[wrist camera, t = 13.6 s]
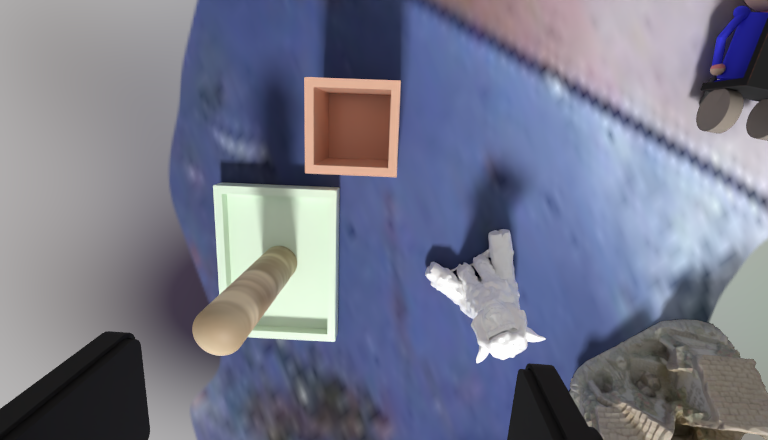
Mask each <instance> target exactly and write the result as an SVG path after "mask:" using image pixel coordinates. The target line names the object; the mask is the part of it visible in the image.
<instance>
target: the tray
mask: <svg viewBox="0 0 768 440" xmlns="http://www.w3.org/2000/svg"><path fill="white" fill-rule="evenodd" d="M339 191H340V187H317V186H294V185H270V184H247V183H223V182H221V183H218V184H216V185H213V193H214V210H215V228H216V245H217V263H218V280H219V295H220V294H221V293H222V292H223V291H224V290H225V289H226V288H227V287H228V286H229V285H230V284H232V283H233V282H234V281H235V280H236V279H237V278H238V277H239V276H240V275H241V274H242V273H243V272H244V271H246V270H247V269H248V268H249V267H250V266H251V265H252V264H253V263H254V262H255V261H256V260H257V259H258V258H260V257H261V256H262V255H263V254H264V253H265V252H266V251H267V250H268V249H270V248H271V247H274V246H284V247H287V248H289V249H290V250H291V251H292V252H293V253H294V254H295V256H296V258H297V268H296V271H295V272H294V274H293V275H292V276H291V278H290V279H289V280H288V282H287V283H286V285H285V286H284V287H283V289H282V290H281V291H280V293H279V294H278V296H277V297H276V298H275V300H274V301H273V302H272V304H271V305H270V307H269V308H268V309H267V311H266V312H265V313H264V315H263V316H262V318H261V319H260V320H259V322H258V323H257V324H256V326H255V327H254V329H253V330H252V331H251V333H250V334H249V335H248V337H254V338H273V339H292V340H311V341H330V342H335V340H336V336H337V333H338V269H339Z"/></svg>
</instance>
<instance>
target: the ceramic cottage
mask: <svg viewBox="0 0 768 440" xmlns="http://www.w3.org/2000/svg"><path fill="white" fill-rule="evenodd" d="M755 365H756V362H755V361H754V359H743V358H740V354H739V352H738V351H737V350H735V349H734V346H733V345H732V343H731V342H730V341H729V340H728V338H727V337H726V336H725V335H724V334H723V333H722V332H721V331H720V329H718V328H717V327H715V326H714V325H713V324H711V323H706V322H703V321H699V320H686V319H683V320H682V319H681V320H679V319H677V320H673V321H671V320H669V321H661V322H659V323H657V324H655V325H653V326H651V327H649V328H647V329H646V330H644V331H641V333H638V334H637V335H634V336H633V337H631V338H629V339H627V340H626V341H625V342H621V343H620V344H619V345H617V346H616V347H612V348H611V349H609V350H607V351H605V352H603V353H601V354H600V355H597V356H596V357H594V358H592V359H590V360H588V361H586V362H585V363H584V364H583V365H581V366H580V367H579V368H578V369H577V371H576V372H575V374H574V376H573V377H574V378H572V379H571V381H572V382H571V383H570V384H571V386H570V388H571V390H570V392H569V393H570V395H571V397H572V399H573V400H574V402H575V404H576V405H577V407H578V409H579V411H580V412H581V414H582V416H583V418H584V419H585V421H586V423H587V425H588V426H589V427H593V428H595V429H596V430H597V431H598V432H599V433H600V435H601V436H602V438H603V440H741V439H742V437H743V435H744V434H746V433H752V434H758V435H760V436H762V437H763V438H764V439H766V440H768V393H767V391H766V389H765V385H764V384H763V382H762V380H761V376H760V374H759V372H758V371H757V370H756V368H755Z"/></svg>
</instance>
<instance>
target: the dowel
mask: <svg viewBox="0 0 768 440" xmlns="http://www.w3.org/2000/svg"><path fill="white" fill-rule="evenodd" d="M296 268H297V258H296V256H295V254H294V253H293V252H292V251H291V250H290V249H289V248H287V247H284V246H274V247H271V248H270V249H268V250H267V251H266V252H265V253H264V254H263V255H262V256H261V257H260V258H258V259H257V260H256V261H255V262H254V263H253V264H252V265H251V266H250V267H249V268H248V269H247V270H246V271H244V272H243V273H242V274H241V275H240V276H239V277H238V278H237V279H236V280H235V281H234V282H233V283H232V284H230V285H229V286H228V287H227V288H226V289H225V290H224V291H223V292H222V293H221V294H220V295H219V296H218V297H216V298H215V299H214V300H213V301H212V302H211V303H210V304H209V305H208V306H207V307H206V308H205V309H204V310H202V311H201V312H200V313H199V314H198V315H197V317H196V318H195V320H194V323H193V328H192V330H193V336H194V338H195V341H196V342H197V344H198V345H199V346H200V347H201V348H202V349H203V350H205V351H206V352H208V353H211V354H213V355H218V356H224V355H229V354H232V353H234V352H235V351H237V350H238V349H239V348H240V346H241V345H242V344H243V342H244V341H245V340H246V338H247V337H248V335H249V334H250V333H251V331H252V330H253V329H254V327H255V326H256V324H257V323H258V322H259V320H260V319H261V318H262V316H263V315H264V313H265V312H266V311H267V309H268V308H269V307H270V305H271V304H272V302H273V301H274V300H275V298H276V297H277V296H278V294H279V293H280V291H281V290H282V289H283V287H284V286H285V285H286V283H287V282H288V280H289V279H290V278H291V276H292V275H293V274H294V272H295V271H296Z"/></svg>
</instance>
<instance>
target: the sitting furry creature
mask: <svg viewBox="0 0 768 440" xmlns="http://www.w3.org/2000/svg"><path fill="white" fill-rule="evenodd" d="M488 240H489V249H488V250H486V251H485V252H483V253H482V254H479V255H478V256H477V257H474V258H473V263H472V264H470V265H469V264H467V263H465V262H464V263H463V265H461V264H459V265H458V266H457V267H456V268H454V269H452V270H449V269H448V268H443V267H442V266H441V265H439V264H437V263H436V262H431V263H430V266H428V267H427V269H426V271H425V275H426V277H427V278H428V279H429V280H430V281H431V286H433V287H434V288H436V289H437V290H439V291H441V292H442V293H443V294H445V295H446V296H447V297H448V298H450V299H451V300H453V302H454V303H455V304H458V305H459V306H460V309H461V311H463V312H464V313H465V314H467V315H468V316H469V317H470V318H472V319H473V321H472V323H471V327H472V328H473V330H474V332H475V334H476V336H477V342H478V344H479V353H478V355H477V358H476V363H480V362H482V361H483V360H484V359H485V358H486V357H487V355H488V354H489V352H490V354H491V355H492V356H493V357H495V358H499V359H501V360H505V359H507V358H508V357H512V358H514V357H515V355H517V354H518V353H521V352H522V351H524V350H525V349H526V348H527V341H528V342H539V341H543V340H546V338H544V337H542V336H539V335H537V334H536V333H535V332H534V331H533V330H532V329H530V328H528V327H527V320H526V314H525V312H524V310H520V305H519V300H518V299H519V297H520V295H519V292H518V283H517V282H516V281H515V274H514V269H515V268H514V266H513V255H514V251H513V249H512V248H513V247H512V240H511V234H510V231H509V230H507V229H500V230H499V231H497V230H494V231H491V232H489V235H488ZM488 258H491V262H490V260H489V259H488ZM471 266H473V267H474V268H475V269H476V271H477V272H478V274H479V276H480V277H481V278H479V279H478V277H477V276H475V270H474V269H473V267H471ZM456 269H457V275H458V276H457V277H456V275H455V274H454V273H453V271H455V270H456ZM458 278H459V279H458Z"/></svg>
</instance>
